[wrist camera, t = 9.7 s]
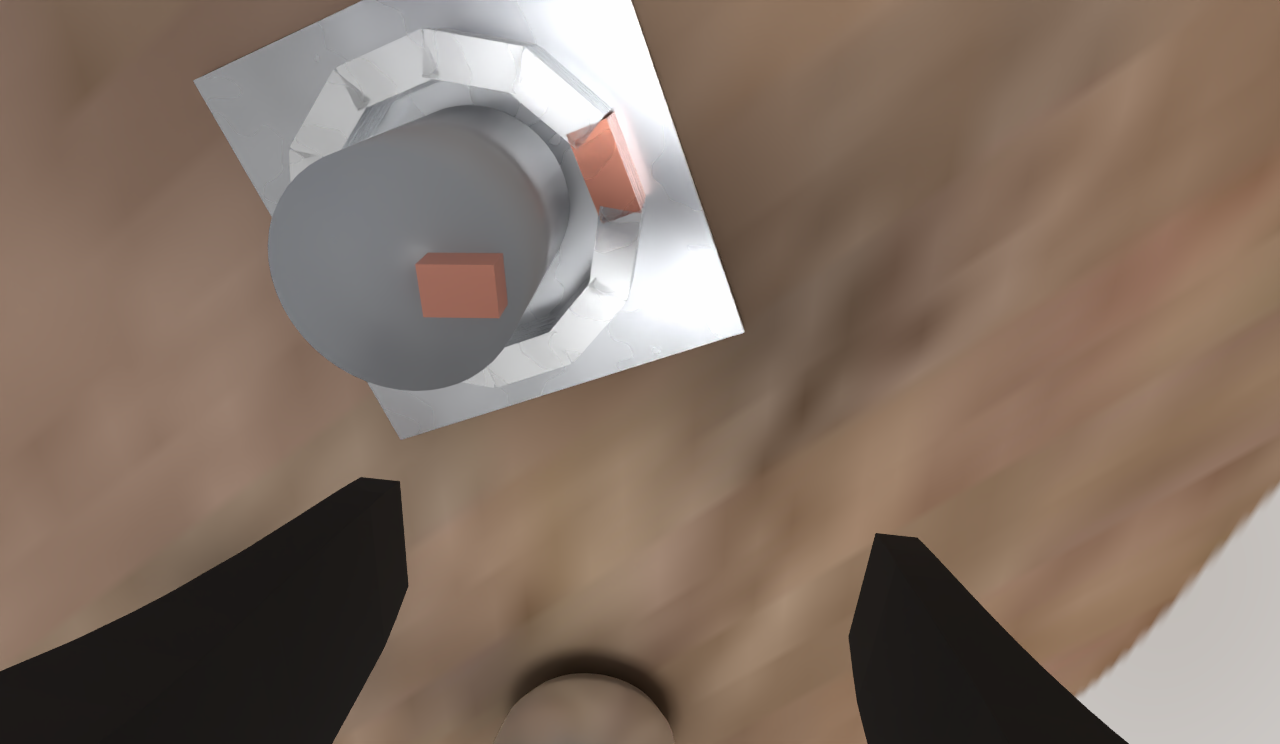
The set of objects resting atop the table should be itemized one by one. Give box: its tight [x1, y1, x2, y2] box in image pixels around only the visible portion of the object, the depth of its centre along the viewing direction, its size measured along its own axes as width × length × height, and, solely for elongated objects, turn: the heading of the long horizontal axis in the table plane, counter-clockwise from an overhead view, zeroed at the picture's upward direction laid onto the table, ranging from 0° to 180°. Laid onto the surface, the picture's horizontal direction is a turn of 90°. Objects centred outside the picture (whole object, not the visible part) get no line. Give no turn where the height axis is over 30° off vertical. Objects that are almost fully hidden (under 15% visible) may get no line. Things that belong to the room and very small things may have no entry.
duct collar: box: [193, 0, 744, 440], centre depth 19 cm, size 11×11×2 cm
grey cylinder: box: [268, 105, 569, 391], centre depth 16 cm, size 5×5×7 cm
